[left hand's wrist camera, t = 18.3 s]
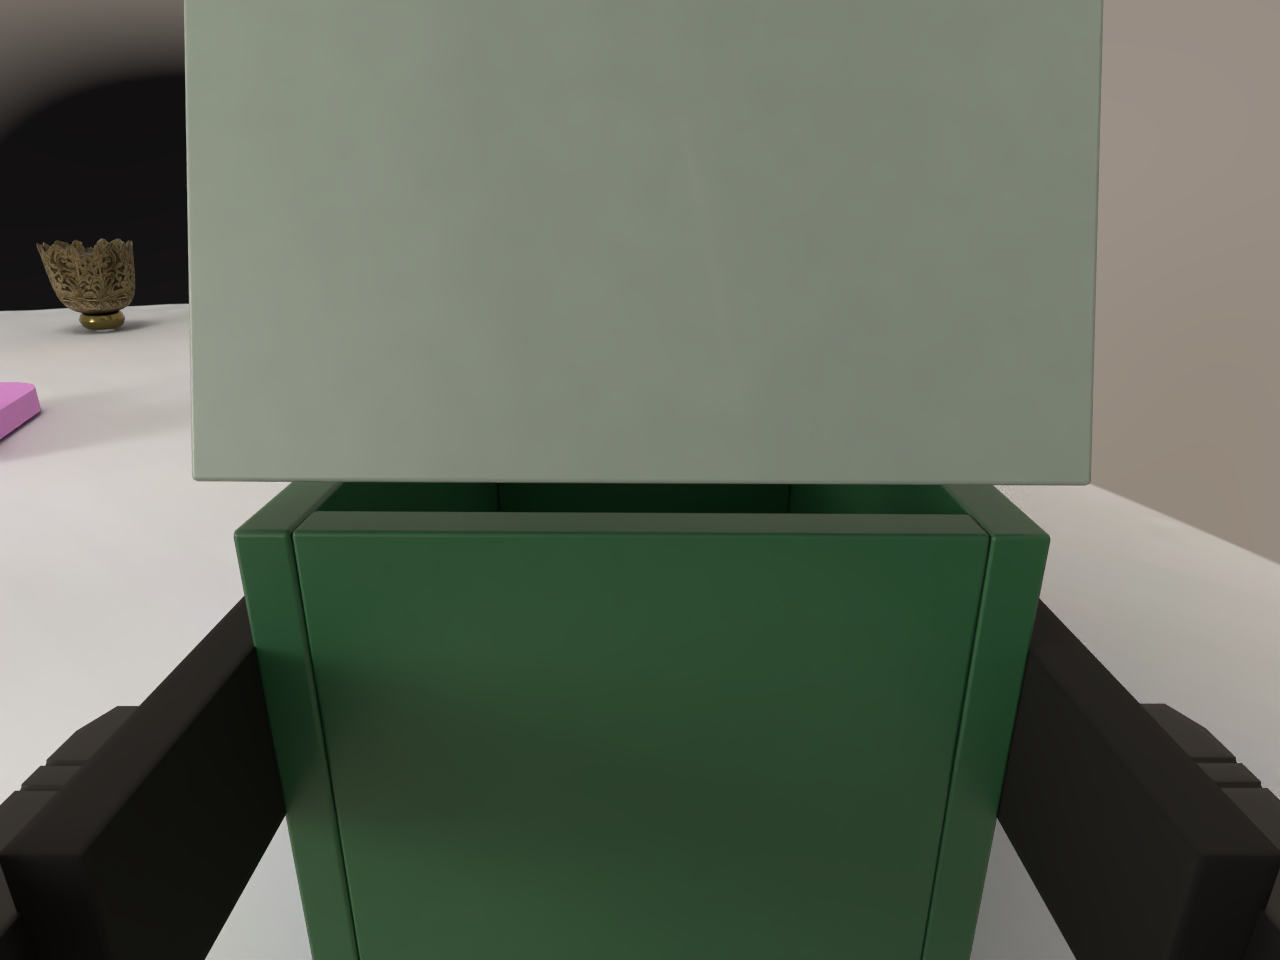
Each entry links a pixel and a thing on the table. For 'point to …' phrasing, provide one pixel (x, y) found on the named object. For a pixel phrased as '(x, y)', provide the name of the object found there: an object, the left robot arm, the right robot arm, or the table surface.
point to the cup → (92, 279)
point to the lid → (643, 240)
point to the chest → (641, 714)
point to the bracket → (16, 405)
